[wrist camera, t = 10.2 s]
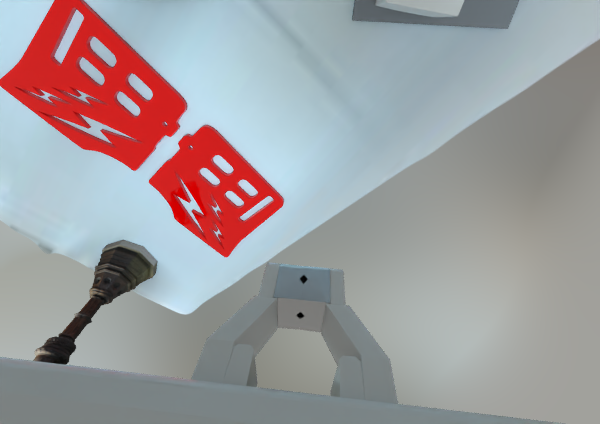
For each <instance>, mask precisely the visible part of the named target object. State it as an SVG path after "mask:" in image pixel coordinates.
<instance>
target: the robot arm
mask: <svg viewBox="0 0 600 424" xmlns="http://www.w3.org/2000/svg"><path fill="white" fill-rule="evenodd" d="M299 327H300V328H299ZM277 328H288V329H300V330H308V331H315V332H321V334H322V336H323V338H324V340H325V342H326V344H327V346H328V348H329V350H330V352H331V354H332V356H333V358H334V360H335V362H336V363H337V366H338V367H337V370H336V374H335V377H334V381H333V385H332V388H331V396H326V395H317V394H309V393H301V392H293V391H284V390H276V389H268V388H259V387H257V374H256V364H255V357H256V355H257V354H258V353H259V352H260V350H261V349H262V348H263V347H264V345H265V344H266V343H267V342H268V340H269V339H270V338H271V337H272V335H273V334H274V333H275V332H276V330H277ZM0 424H564V423H554V422H547V421H538V420H530V419H521V418H513V417H504V416H496V415H486V414H479V413H470V412H461V411H453V410H445V409H437V408H428V407H419V406H411V405H403V404H398V401H397V396H396V390H395V384H394V379H393V373H392V368H391V362H390V359H389V358H388V356H387V355H386V354H385V353H384V351H383V350H382V348H381V347H380V346H379V345H378V343H377V342H376V341H375V339H374V338H373V336H372V335H371V334H370V332H369V331H368V330H367V328H366V327H365V326H364V324H363V323H362V322H361V320H360V319H359V318H358V317H357V315H356V314H355V312H354V311H353V310H352V309H351V307H350V306H347V305H345V288H344V272H343V270H341V269H329V268H320V267H308V266H297V265H288V264H279V263H270V262H268V263H267V265H266V268H265V272H264V276H263V280H262V284H261V288H260V291H259V295H258V296H254V297H253V298H252V299H251V300H249V301H248V302H247V303H246V304H245V305H244V306H243V307H242V308H241V309H239V310H238V311H237V312H236V313H235V314H234V315H233V316H232V317H231V318H229V319H228V320H227V321H226V322H225V323H224V324H223V325H222V326H221V327H219V328H218V329H217V330H216V331H215V332H214V333H213V334H212V335H211V336H209V337H208V338H207V340H206V342H205V345H204V347H203V350H202V352H201V355H200V358H199V360H198V363H197V366H196V368H195V370H194V373H193V376H192V378H191V379H183V378H174V377H166V376H157V375H148V374H140V373H132V372H123V371H115V370H106V369H98V368H89V367H80V366H72V365H64V364H55V363H47V362H38V361H30V360H20V359H12V358H4V357H0Z"/></svg>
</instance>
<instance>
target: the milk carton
mask: <svg viewBox="0 0 600 424" xmlns="http://www.w3.org/2000/svg"><path fill="white" fill-rule="evenodd" d="M463 3H464V0H376V3H375V5H376V6H379V7H384V8H388V9H392V10H397V11H402V12H407V13H412V14H417V15H423V16H429V17H453V16H458V15H459V12H460V10H461V8H462V5H463Z"/></svg>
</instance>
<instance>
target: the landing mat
mask: <svg viewBox="0 0 600 424" xmlns="http://www.w3.org/2000/svg"><path fill="white" fill-rule="evenodd" d="M518 2H519V0H464V3H463V5H462V8H461V10H460V12H459V15H458V16H453V17H429V16H423V15H417V14H412V13H407V12H402V11H397V10H392V9H388V8H384V7H379V6H376V5H375V3H376V0H355V3H354V11H353V18H352V20H357V21H376V22H394V23H412V24H430V25H448V26H466V27H484V28H502V29H508V27H509V24H510V22H511V19H512V17H513V14H514V12H515V10H516V7H517V5H518Z"/></svg>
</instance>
